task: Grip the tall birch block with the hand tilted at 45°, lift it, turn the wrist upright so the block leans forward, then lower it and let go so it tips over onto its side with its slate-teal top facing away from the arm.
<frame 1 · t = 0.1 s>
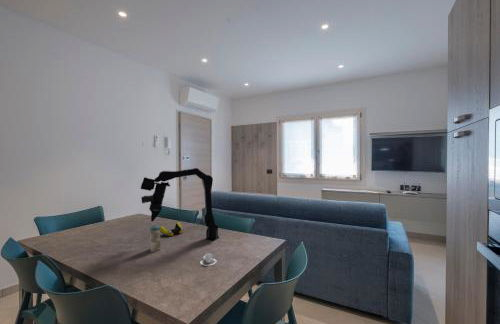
hand: (152, 219, 131), 15 cm above the table, tool pointing down, fingers open, 9 cm apart
birch block: (155, 249, 126), on the table
teacup and saucer: (213, 261, 113), on the table
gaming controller: (172, 234, 153), on the table
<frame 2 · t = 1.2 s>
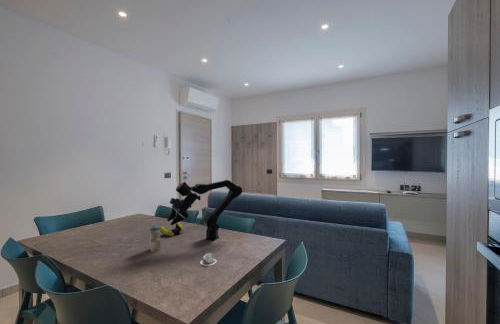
hand: (169, 222, 130), 14 cm above the table, tool tilted 45°, fingers open, 9 cm apart
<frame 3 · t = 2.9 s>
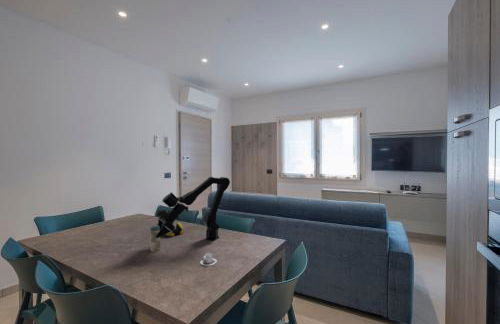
hand: (155, 235, 126), 8 cm above the table, tool tilted 45°, fingers open, 9 cm apart
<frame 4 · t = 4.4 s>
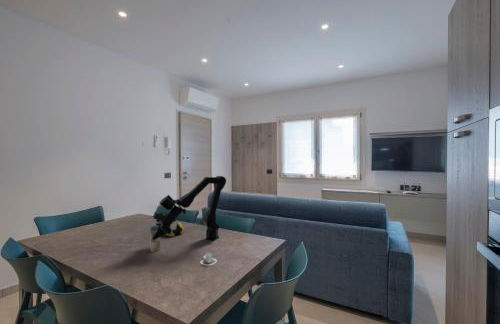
hand: (152, 238, 125), 7 cm above the table, tool tilted 45°, fingers closed on birch block, 4 cm apart
birch block: (155, 249, 126), on the table, touching gripper
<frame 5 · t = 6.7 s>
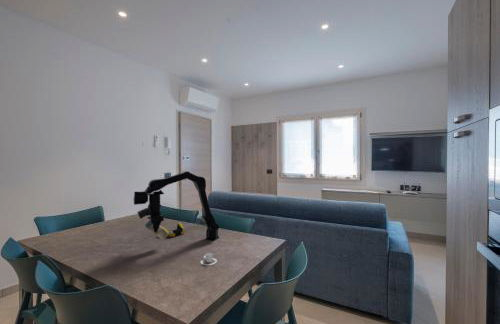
hand: (154, 231, 126), 10 cm above the table, tool pointing down, fingers closed on birch block, 4 cm apart
birch block: (165, 236, 129), point 6 cm above the table, tilted 45°, touching gripper
when the fingers open (6 cm above the table, at t = 8.8 s): birch block moves 2 cm and tips over, point 2 cm above the table.
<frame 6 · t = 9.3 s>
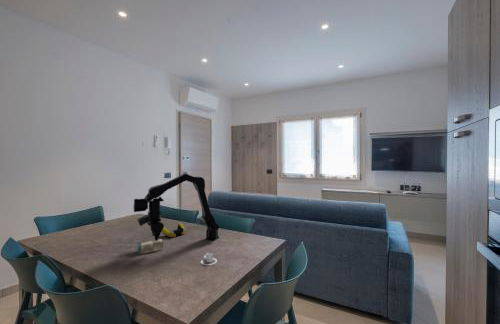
hand: (155, 238, 126), 6 cm above the table, tool pointing down, fingers open, 9 cm apart
birch block: (162, 244, 128), point 2 cm above the table, tilted 90°
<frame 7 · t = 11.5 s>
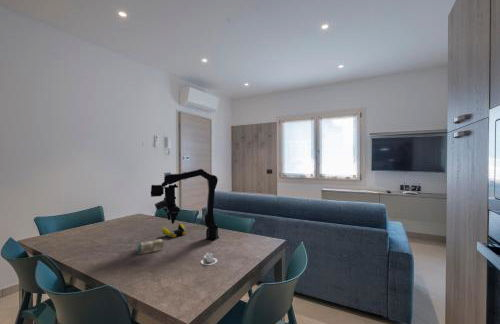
hand: (170, 221, 136), 13 cm above the table, tool pointing down, fingers open, 9 cm apart
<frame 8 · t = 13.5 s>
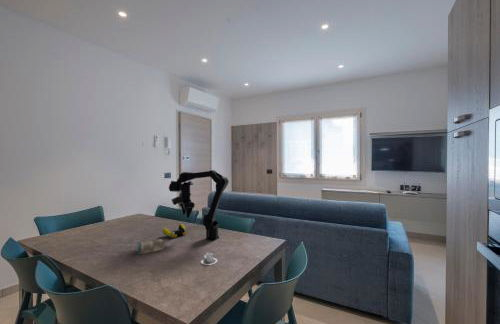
hand: (185, 216, 147), 13 cm above the table, tool pointing down, fingers open, 9 cm apart
at the end: birch block tilted 90°; the gripper is holding nothing; birch block inside the target area (5.0 cm from its centre), point 2.2 cm above the table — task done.
